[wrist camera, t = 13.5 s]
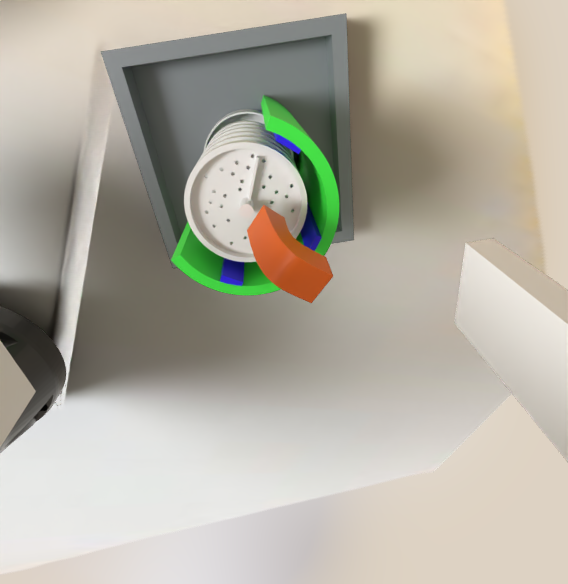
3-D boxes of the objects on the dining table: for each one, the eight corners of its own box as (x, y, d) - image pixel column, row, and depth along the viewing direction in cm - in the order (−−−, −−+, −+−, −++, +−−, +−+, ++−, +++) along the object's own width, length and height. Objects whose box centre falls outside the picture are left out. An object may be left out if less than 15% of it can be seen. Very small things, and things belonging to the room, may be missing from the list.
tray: (178, 253, 35) (172, 268, 32) (114, 52, 26) (100, 51, 24) (346, 227, 35) (353, 240, 32) (336, 18, 26) (346, 13, 24)
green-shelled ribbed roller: (227, 76, 27) (200, 92, 12) (324, 123, 29) (409, 189, 14) (191, 191, 31) (136, 315, 16) (278, 225, 33) (305, 362, 18)
